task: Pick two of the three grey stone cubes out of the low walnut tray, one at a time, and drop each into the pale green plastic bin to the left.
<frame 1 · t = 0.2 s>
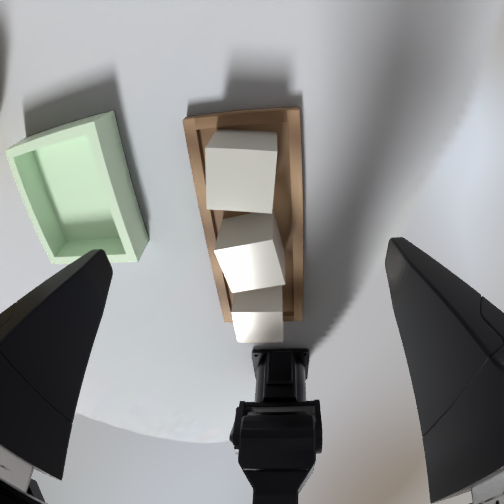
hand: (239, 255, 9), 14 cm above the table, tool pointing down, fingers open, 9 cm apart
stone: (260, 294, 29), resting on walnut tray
walnut tray: (254, 231, 26), on the table
stone mid: (254, 235, 25), resting on walnut tray
green bin: (83, 187, 24), on the table
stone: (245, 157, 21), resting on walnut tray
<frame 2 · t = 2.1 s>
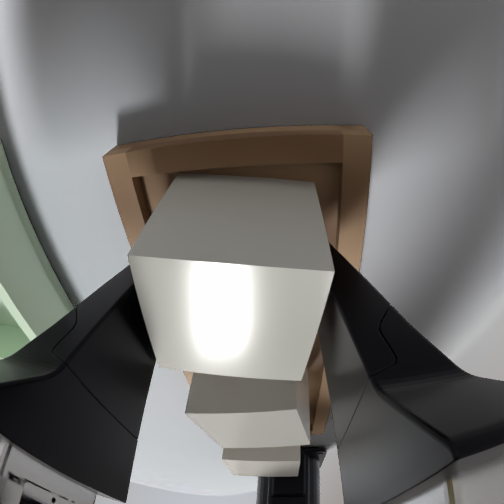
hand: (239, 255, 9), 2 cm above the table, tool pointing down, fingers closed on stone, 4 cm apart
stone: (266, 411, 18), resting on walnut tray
walnut tray: (259, 344, 15), on the table
stone mid: (258, 353, 14), resting on walnut tray
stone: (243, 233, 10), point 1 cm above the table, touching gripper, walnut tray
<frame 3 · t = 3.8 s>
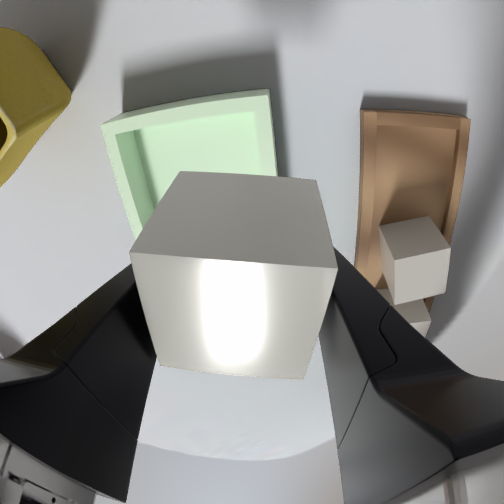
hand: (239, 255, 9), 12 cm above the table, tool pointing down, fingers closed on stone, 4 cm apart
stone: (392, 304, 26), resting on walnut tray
walnut tray: (403, 239, 22), on the table
stone mid: (405, 243, 22), resting on walnut tray
green bin: (206, 182, 21), on the table
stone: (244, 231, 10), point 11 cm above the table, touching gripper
flower pot: (40, 90, 17), on the table
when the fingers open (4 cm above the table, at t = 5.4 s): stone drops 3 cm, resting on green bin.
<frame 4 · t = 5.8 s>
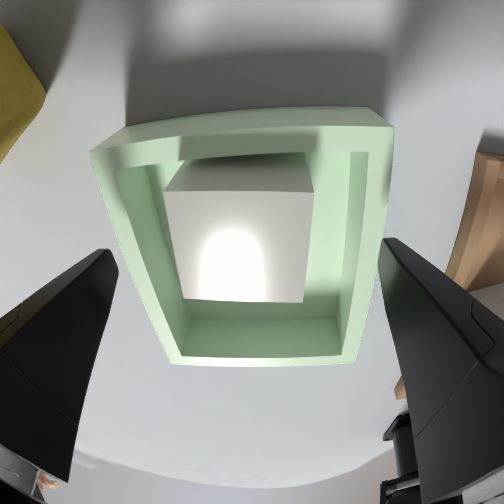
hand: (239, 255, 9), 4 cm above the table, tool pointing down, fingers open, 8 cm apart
walnut tray: (479, 303, 16), on the table
stone mid: (482, 309, 16), resting on walnut tray
green bin: (254, 238, 14), on the table
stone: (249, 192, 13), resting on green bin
flower pot: (4, 89, 10), on the table
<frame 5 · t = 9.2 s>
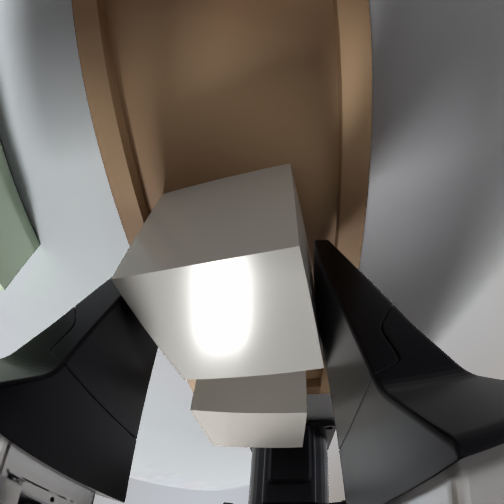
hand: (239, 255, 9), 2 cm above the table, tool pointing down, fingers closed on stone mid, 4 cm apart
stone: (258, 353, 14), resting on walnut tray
walnut tray: (243, 225, 11), on the table
stone mid: (242, 233, 10), point 1 cm above the table, touching gripper, walnut tray
when the fingers open (4 cm above the table, at t = 12.5 s): stone mid drops 3 cm, resting on green bin.
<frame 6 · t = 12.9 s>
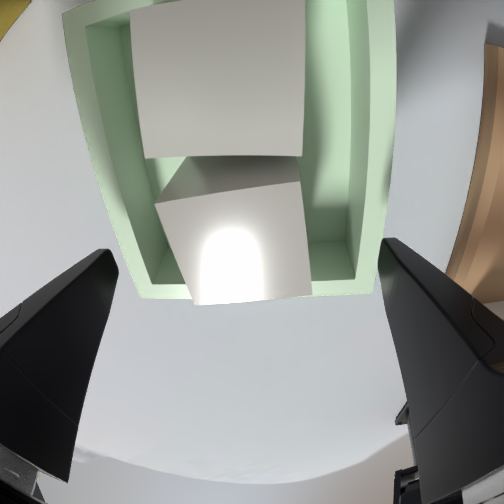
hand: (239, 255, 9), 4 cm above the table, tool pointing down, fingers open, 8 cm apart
stone mid: (248, 192, 13), resting on green bin
green bin: (243, 129, 12), on the table
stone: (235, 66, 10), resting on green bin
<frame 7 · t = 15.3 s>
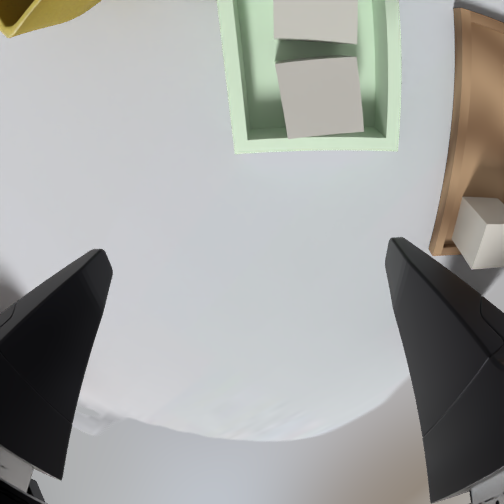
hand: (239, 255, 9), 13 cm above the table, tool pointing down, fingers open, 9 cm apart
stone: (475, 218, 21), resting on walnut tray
walnut tray: (488, 142, 18), on the table
stone mid: (312, 87, 17), resting on green bin
green bin: (309, 50, 16), on the table
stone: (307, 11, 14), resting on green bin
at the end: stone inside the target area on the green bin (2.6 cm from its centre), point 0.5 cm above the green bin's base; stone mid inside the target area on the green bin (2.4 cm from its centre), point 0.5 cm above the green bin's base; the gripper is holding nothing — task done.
